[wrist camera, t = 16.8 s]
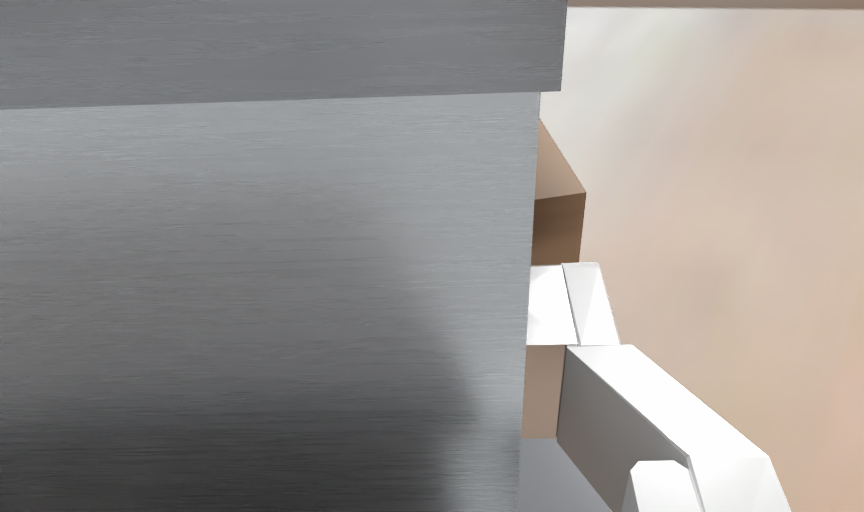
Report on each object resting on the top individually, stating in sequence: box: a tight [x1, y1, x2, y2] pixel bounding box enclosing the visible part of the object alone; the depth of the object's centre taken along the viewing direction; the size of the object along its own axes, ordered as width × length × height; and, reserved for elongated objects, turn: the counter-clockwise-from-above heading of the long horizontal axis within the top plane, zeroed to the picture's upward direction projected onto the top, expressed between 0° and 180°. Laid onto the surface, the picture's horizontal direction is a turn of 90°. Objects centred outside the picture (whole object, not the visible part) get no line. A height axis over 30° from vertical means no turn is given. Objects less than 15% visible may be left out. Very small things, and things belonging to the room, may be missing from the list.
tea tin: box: [0, 0, 567, 512], centre depth 10 cm, size 5×5×13 cm
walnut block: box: [531, 118, 586, 265], centre depth 25 cm, size 5×5×4 cm
